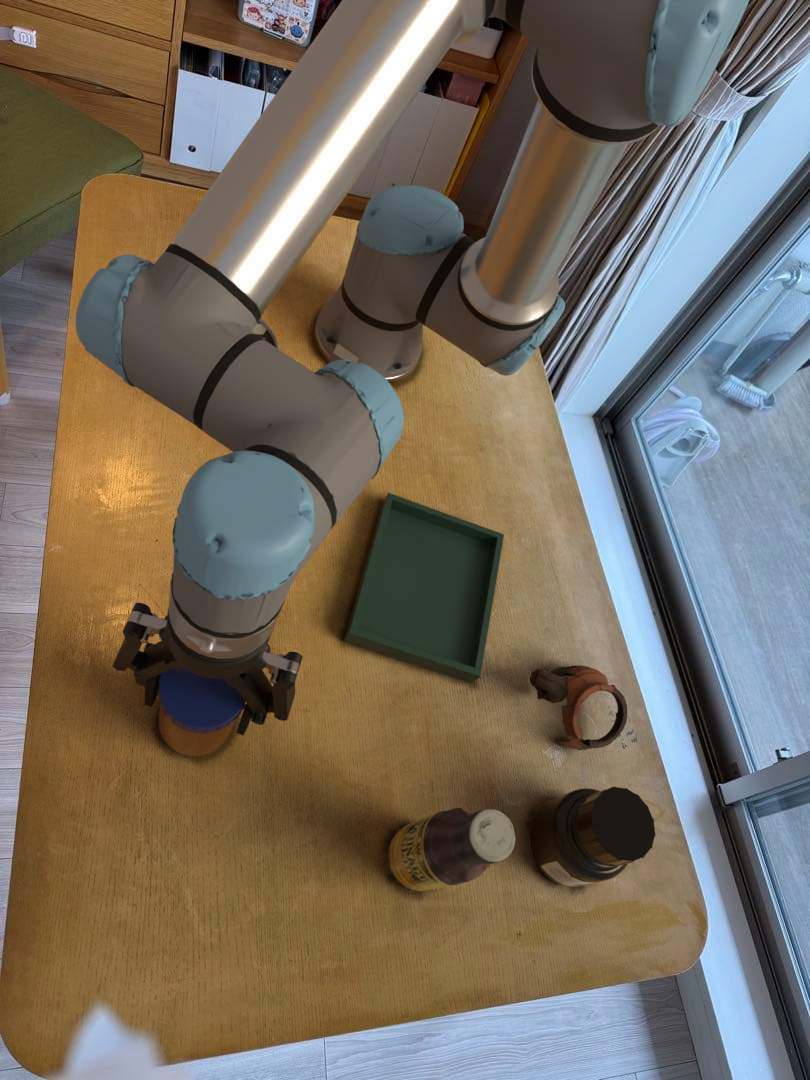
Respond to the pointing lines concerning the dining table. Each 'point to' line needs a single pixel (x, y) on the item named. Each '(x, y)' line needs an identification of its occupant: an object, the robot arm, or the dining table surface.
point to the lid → (198, 701)
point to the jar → (191, 738)
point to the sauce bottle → (449, 848)
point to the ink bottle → (590, 835)
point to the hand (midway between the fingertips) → (199, 707)
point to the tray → (427, 589)
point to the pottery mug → (578, 701)
